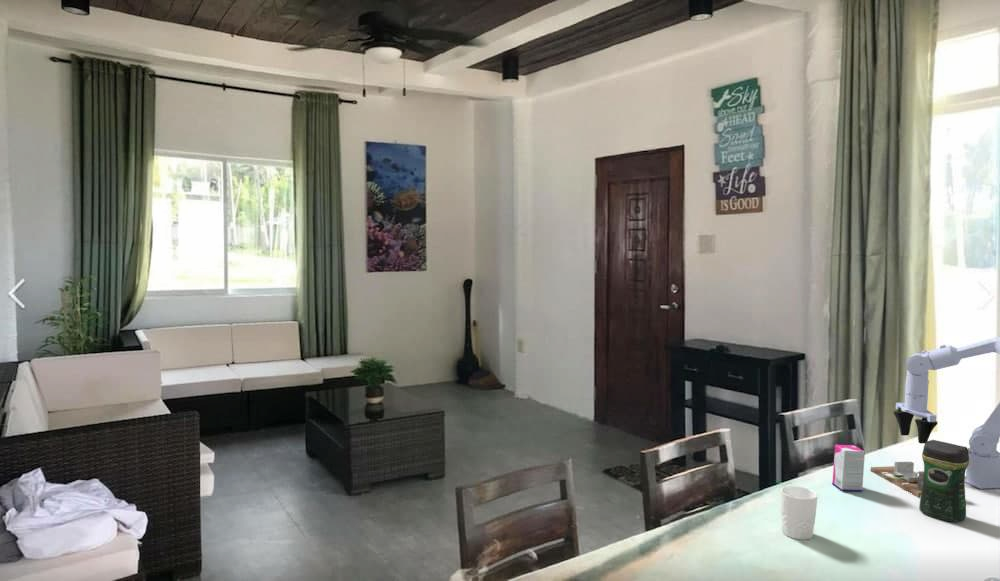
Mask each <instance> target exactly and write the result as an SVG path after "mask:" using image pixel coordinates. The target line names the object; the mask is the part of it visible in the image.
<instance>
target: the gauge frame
mask: <svg viewBox="0 0 1000 581" xmlns="http://www.w3.org/2000/svg"><path fill="white" fill-rule="evenodd" d="M870 472H871V473H874V474H876V475H877V476H879V477H881V478H882V479H884V480H886V481H888V482H890V483H891V484H893V485H895V486H897V487H898V488H900V489H902V490H904V491H906V492H907V491H908V492H907V493H909V492H910V493H909V494H911V493H912V494H911V495H913V496H915V497H917V498H920V497H921V491H922V485H923V478H924V470H922V471H918V472H919V475H918V482H907V481H906V480H904V479H902V478H900V477H894V465H893V466H871V467H870Z"/></svg>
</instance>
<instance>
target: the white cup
mask: <svg viewBox="0 0 1000 581" xmlns="http://www.w3.org/2000/svg"><path fill="white" fill-rule="evenodd" d="M818 496H819V495H818V493H817V492H816V491H814V490H812V489H811V488H807V487H804V486H803V487H802V486H794V485H793V486H792V485H789V486H788V485H787V486H784V487H781V488H780V520H781V532H782V534H784V536H787V537H788V538H792V539H795V540H802V541H804V540H810V539H812V538H813V536H814V528H815V523H816V516H817V508H818V507H817V506H818Z"/></svg>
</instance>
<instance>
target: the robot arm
mask: <svg viewBox="0 0 1000 581" xmlns="http://www.w3.org/2000/svg"><path fill="white" fill-rule="evenodd" d="M991 353H996V354H999V355H1000V336H996V337H992V338H988V339H985V340H984V339H983V340H982V341H979V342H974V343H970V344H968V345H964V346H960V347H955V346H953V345H947V346H946V344H941V345H939V348H936V349H935V348H934V349H930V350H925V349H924V350H922V351H921V352H920V353H919V352H917V353H914V354H912V355H911V356H909V357H908V358H907V360H906V362H905V368H906V370H907V371H906V378H905V392H904V402H895V410H894V411H893V414H894V416H895V418H896V420H897V423H898V428H899V431H900V432H899V433H900V435H901V436H909V435H910V431H911V425H912V421H913V419H914V416H916V417H918V418H919V419H917V418H916V419H914V423H915V425H916V428H917V441H918V443H919V444H925V443H926V442H927V441H929V438H930V436H931V433H932V431H934V429H935V427H936V426H937V425H938V421H937V414H934V413H932V412H931V411H930V410H928V399H929V398H928V397H929V382H930V381H929V374H930V373H929V371H930V370H931V371H937V370H941V369H945V368H949V367H954V366H957V365H959V364H960V362H961V361H962V359H967V358H971V357H976V356H981V355H985V354H991ZM999 442H1000V401H999V402H998V403H997V405H996V407H995V408H994V409H993V411H992V412H991V413H990V414H989V416H988V418H986V420H985V421H984V422H983V423H982V425H980V426H977V427H976V428H975V429H973V431H972V434H971V436H970V438H969V440H968V444H969V447H967V449H968V453H969V454H968V455H969V465H968V467H967V468H966V471H965V483H966V484H968V485H970V486H973V487H974V488H977V489H980V490H981V489H983V490H984V489H985V490H986V489H1000V452H999V451H998V450H997V447H998V443H999Z"/></svg>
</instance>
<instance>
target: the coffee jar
mask: <svg viewBox="0 0 1000 581" xmlns="http://www.w3.org/2000/svg"><path fill="white" fill-rule="evenodd" d="M968 454H969V453H968V447H967V446H964V445H959V444H954V443H950V442H945V441H941V440H936V439H931V440H928V441H927V442H926V443H924V445H923V449H922V454H921V458H922V461H923V471H924V478H923V485H922V491H921V497H919V504H918V509H919V511H920V512H921V513H923V514H924V515H927V516H930V517H933V518H936V519H939V520H944V521H948V522H962V521H963V520H965V519H966V517H967V502H966V500H967V499H966V485H965V483H966V482H965V477H966V469H967V467H968V465H969V455H968Z"/></svg>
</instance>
